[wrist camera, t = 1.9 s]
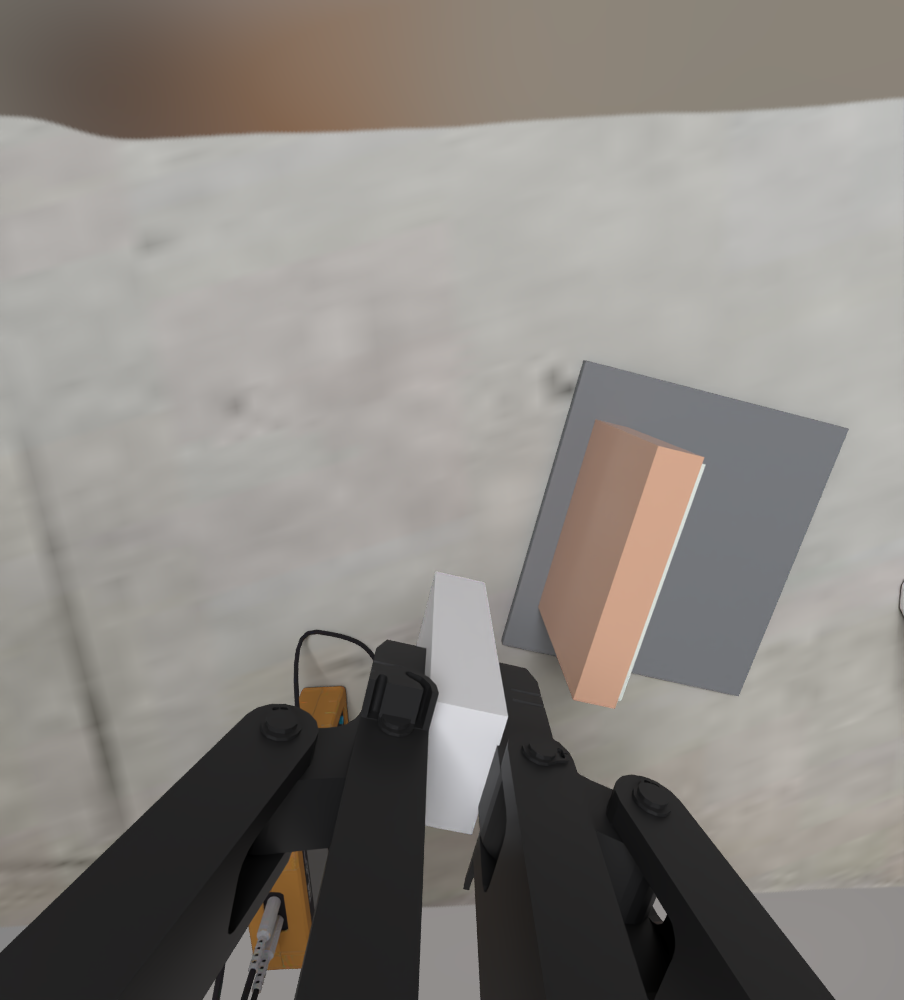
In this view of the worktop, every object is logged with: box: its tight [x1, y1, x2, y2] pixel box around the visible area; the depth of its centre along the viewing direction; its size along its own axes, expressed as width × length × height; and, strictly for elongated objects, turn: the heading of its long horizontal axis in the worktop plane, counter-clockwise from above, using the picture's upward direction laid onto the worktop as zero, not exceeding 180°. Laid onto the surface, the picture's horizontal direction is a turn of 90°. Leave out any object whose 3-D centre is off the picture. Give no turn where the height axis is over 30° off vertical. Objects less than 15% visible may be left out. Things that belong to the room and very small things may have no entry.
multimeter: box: [212, 630, 375, 1000], centre depth 29 cm, size 15×10×20 cm
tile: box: [538, 419, 705, 709], centre depth 30 cm, size 2×12×10 cm, turn 166°
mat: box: [502, 361, 849, 696], centre depth 35 cm, size 16×18×1 cm
